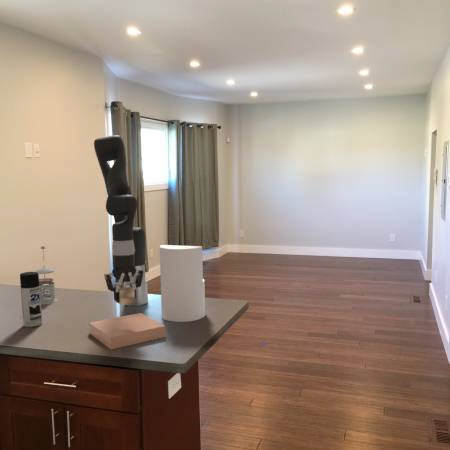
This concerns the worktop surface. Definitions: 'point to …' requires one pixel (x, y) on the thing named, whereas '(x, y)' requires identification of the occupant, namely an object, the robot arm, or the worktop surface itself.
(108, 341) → the terracotta platform
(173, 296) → the cylinder
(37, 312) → the spray can
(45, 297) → the french press
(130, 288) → the maple block
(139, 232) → the robot arm
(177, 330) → the worktop surface
